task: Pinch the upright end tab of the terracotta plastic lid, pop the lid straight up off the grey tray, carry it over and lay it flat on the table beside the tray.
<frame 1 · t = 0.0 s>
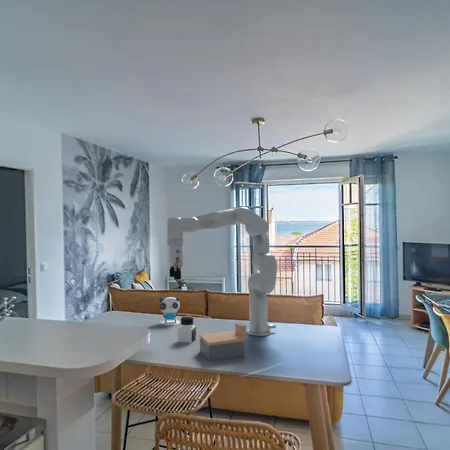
hand: (175, 278, 169), 31 cm above the table, tool pointing down, fingers open, 9 cm apart
grey tray: (221, 355, 152), on the table
lid: (221, 341, 152), point 6 cm above the table, touching grey tray
medicine bottle: (187, 342, 171), on the table
panda figurine: (170, 323, 206), on the table
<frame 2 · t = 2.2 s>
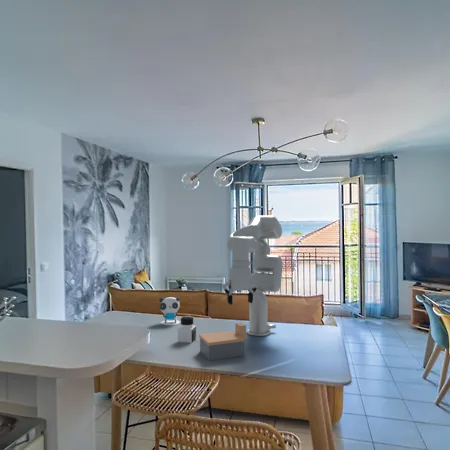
hand: (240, 303, 155), 22 cm above the table, tool pointing down, fingers open, 9 cm apart
nothing on the table moved.
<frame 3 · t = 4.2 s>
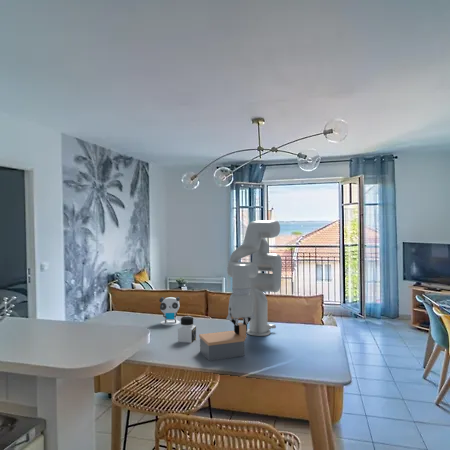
hand: (240, 332, 155), 9 cm above the table, tool pointing down, fingers closed on lid, 3 cm apart
lid: (221, 341, 152), point 6 cm above the table, touching gripper, grey tray
everything else where it was.
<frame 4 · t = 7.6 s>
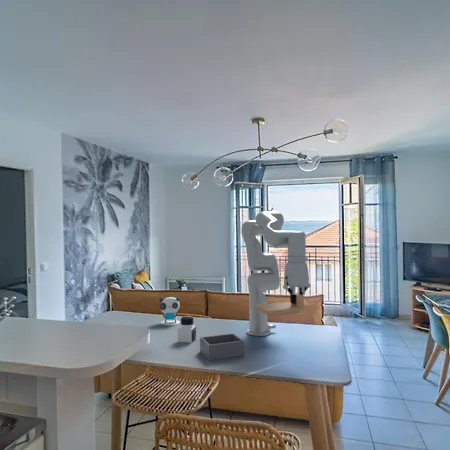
hand: (297, 302, 149), 23 cm above the table, tool pointing down, fingers closed on lid, 3 cm apart
lid: (278, 312, 146), point 20 cm above the table, touching gripper
everything else where it was.
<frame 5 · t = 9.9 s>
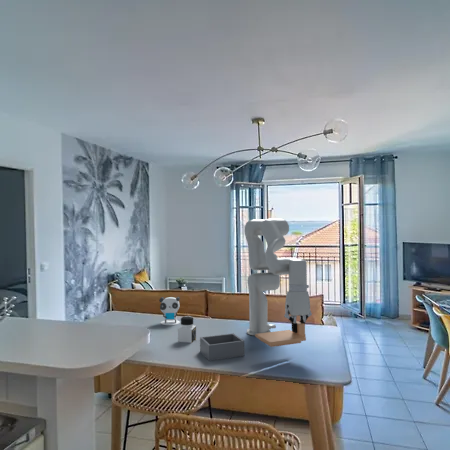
hand: (298, 331, 149), 11 cm above the table, tool pointing down, fingers closed on lid, 3 cm apart
lid: (280, 341, 145), point 8 cm above the table, touching gripper
everything else where it was.
when the fingers open (5 cm above the table, at t = 11.5 s): lid drops 2 cm, on the table.
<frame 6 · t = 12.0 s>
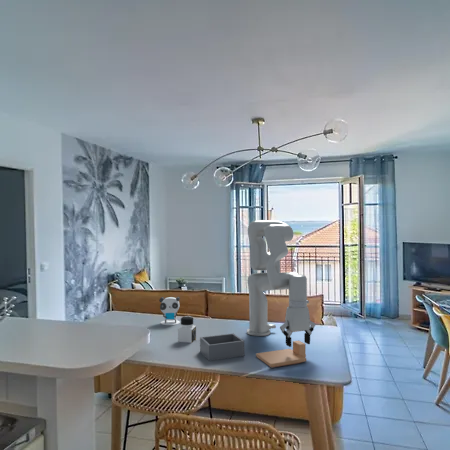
hand: (298, 344, 149), 6 cm above the table, tool pointing down, fingers open, 8 cm apart
lid: (280, 361, 145), on the table
everything else where it was.
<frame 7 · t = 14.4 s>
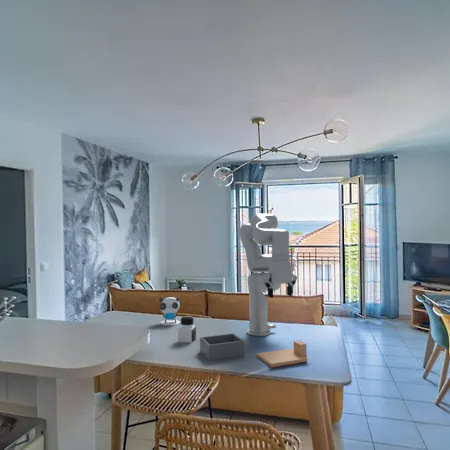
hand: (280, 296, 155), 25 cm above the table, tool pointing down, fingers open, 9 cm apart
nothing on the table moved.
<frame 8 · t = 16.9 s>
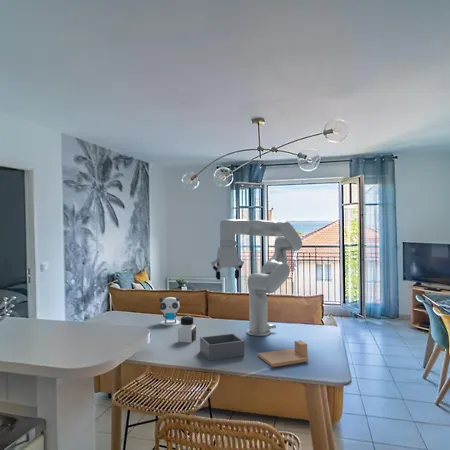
hand: (227, 279, 173), 30 cm above the table, tool pointing down, fingers open, 9 cm apart
nothing on the table moved.
at the end: lid touching table; lid inside the target area (1.2 cm from its centre), on the table; the gripper is holding nothing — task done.
